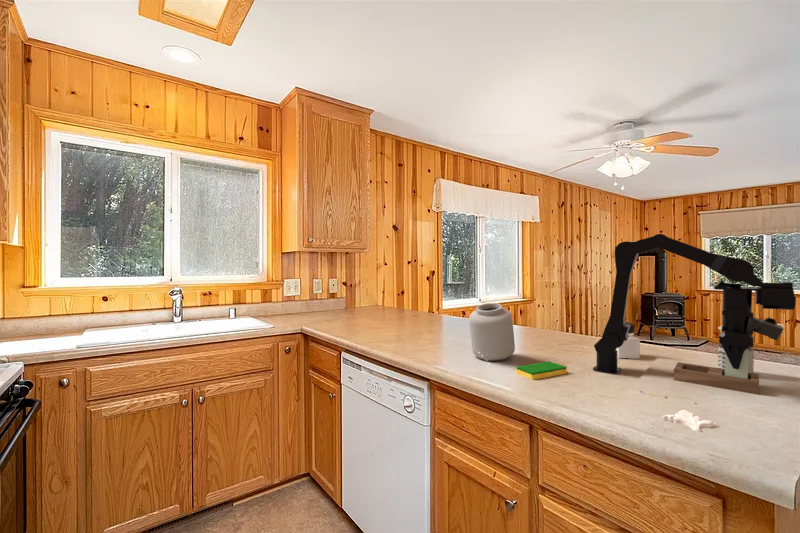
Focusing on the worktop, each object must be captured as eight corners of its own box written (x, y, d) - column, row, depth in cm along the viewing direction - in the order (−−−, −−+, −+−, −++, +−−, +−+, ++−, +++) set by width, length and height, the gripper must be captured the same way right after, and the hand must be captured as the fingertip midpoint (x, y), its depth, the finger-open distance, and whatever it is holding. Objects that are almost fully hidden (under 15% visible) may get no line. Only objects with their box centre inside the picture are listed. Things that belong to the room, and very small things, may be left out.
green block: (747, 386, 95) (748, 346, 94) (724, 382, 98) (725, 344, 97) (747, 381, 98) (748, 343, 98) (725, 378, 101) (725, 341, 101)
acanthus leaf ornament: (661, 422, 81) (661, 413, 81) (678, 416, 84) (678, 407, 84) (702, 436, 74) (702, 426, 74) (719, 428, 77) (719, 419, 77)
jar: (499, 368, 119) (498, 290, 118) (458, 360, 128) (458, 287, 128) (521, 356, 134) (521, 286, 133) (483, 349, 143) (483, 284, 142)
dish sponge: (515, 374, 114) (515, 366, 114) (549, 368, 120) (549, 361, 120) (532, 381, 108) (532, 372, 108) (567, 374, 113) (567, 366, 113)
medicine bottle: (629, 353, 135) (629, 320, 135) (640, 359, 128) (640, 324, 128) (608, 353, 136) (608, 320, 136) (618, 358, 129) (618, 324, 128)
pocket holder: (759, 398, 92) (759, 382, 91) (673, 383, 103) (673, 369, 103) (758, 389, 98) (758, 374, 98) (678, 375, 110) (678, 362, 110)
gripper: (783, 314, 85) (782, 382, 85) (778, 306, 99) (777, 364, 99) (719, 310, 93) (718, 372, 93) (722, 303, 106) (722, 357, 107)
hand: (736, 366), depth 98 cm, fingers closed on green block, 4 cm apart
